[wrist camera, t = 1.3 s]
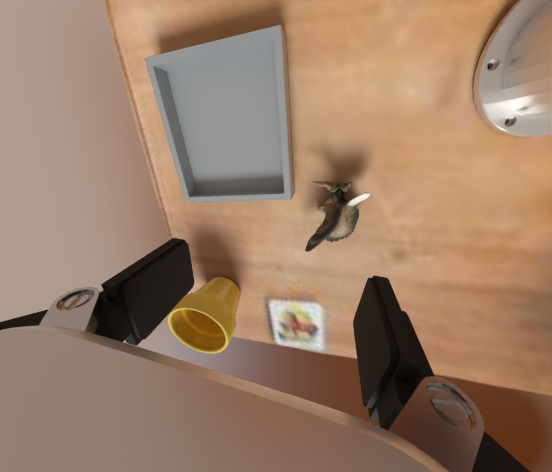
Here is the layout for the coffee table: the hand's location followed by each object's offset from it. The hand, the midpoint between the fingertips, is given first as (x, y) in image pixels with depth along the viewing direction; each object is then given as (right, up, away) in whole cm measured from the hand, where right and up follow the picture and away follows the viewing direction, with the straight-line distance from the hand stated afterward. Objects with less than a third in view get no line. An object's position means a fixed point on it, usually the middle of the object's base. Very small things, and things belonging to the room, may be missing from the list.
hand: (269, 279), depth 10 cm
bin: (-5, +16, +16) cm, 23 cm away
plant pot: (-10, -8, +29) cm, 32 cm away
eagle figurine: (+8, +6, +18) cm, 21 cm away
